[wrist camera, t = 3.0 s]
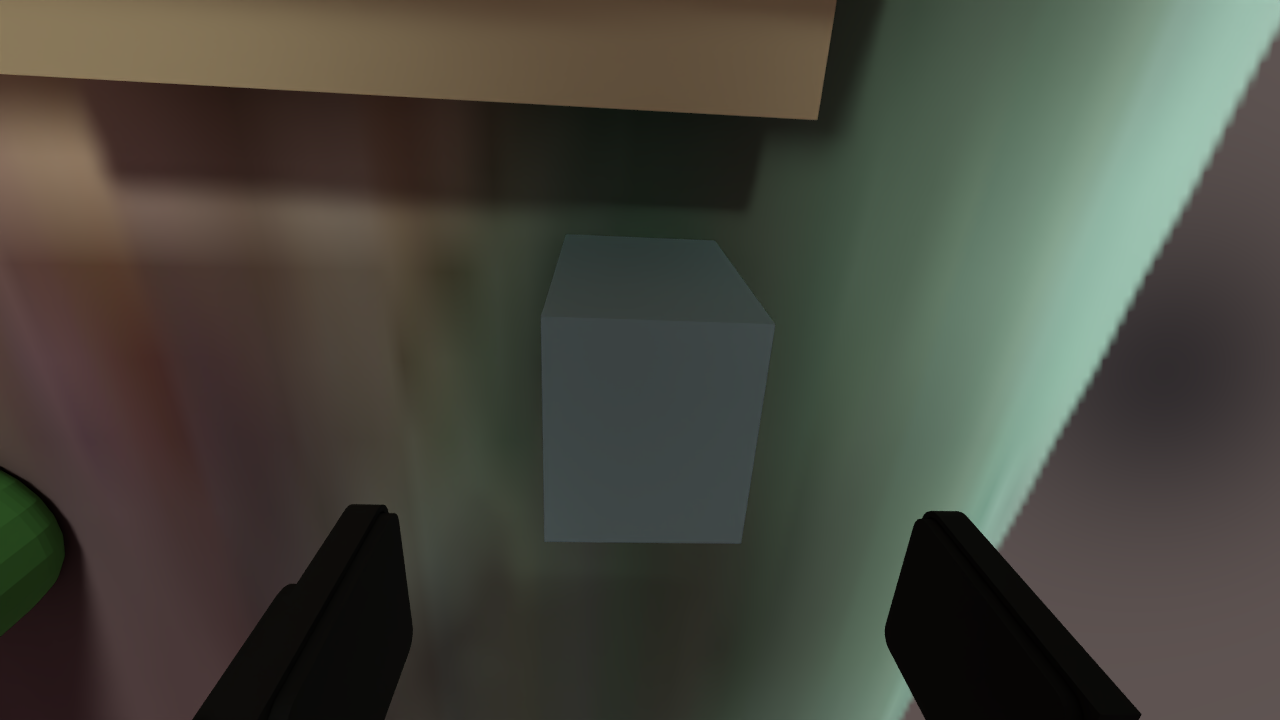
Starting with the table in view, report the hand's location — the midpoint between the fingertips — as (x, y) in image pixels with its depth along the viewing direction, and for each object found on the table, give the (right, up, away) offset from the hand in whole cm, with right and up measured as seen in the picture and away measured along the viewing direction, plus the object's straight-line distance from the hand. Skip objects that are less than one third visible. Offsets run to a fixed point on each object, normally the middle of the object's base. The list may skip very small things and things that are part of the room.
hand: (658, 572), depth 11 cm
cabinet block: (0, +5, +10) cm, 12 cm away
